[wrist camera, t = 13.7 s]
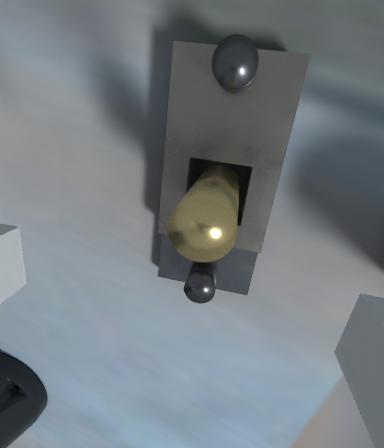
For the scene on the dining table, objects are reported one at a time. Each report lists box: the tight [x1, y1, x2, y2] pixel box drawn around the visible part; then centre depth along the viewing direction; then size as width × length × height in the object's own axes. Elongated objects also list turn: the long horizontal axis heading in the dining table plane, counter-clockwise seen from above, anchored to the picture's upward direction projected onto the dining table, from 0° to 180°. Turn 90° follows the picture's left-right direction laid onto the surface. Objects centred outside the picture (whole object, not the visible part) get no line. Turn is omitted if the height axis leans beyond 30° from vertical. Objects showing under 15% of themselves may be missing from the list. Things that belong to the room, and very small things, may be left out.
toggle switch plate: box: [158, 34, 311, 303], centre depth 23 cm, size 22×10×6 cm, turn 173°
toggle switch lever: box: [167, 165, 239, 262], centre depth 20 cm, size 4×4×12 cm
